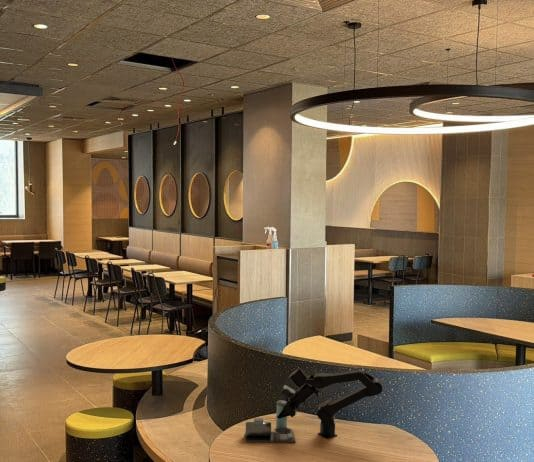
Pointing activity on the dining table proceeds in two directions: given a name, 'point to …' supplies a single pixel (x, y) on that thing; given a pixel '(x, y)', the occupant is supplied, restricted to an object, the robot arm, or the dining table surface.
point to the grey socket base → (267, 433)
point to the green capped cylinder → (281, 421)
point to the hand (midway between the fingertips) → (278, 415)
